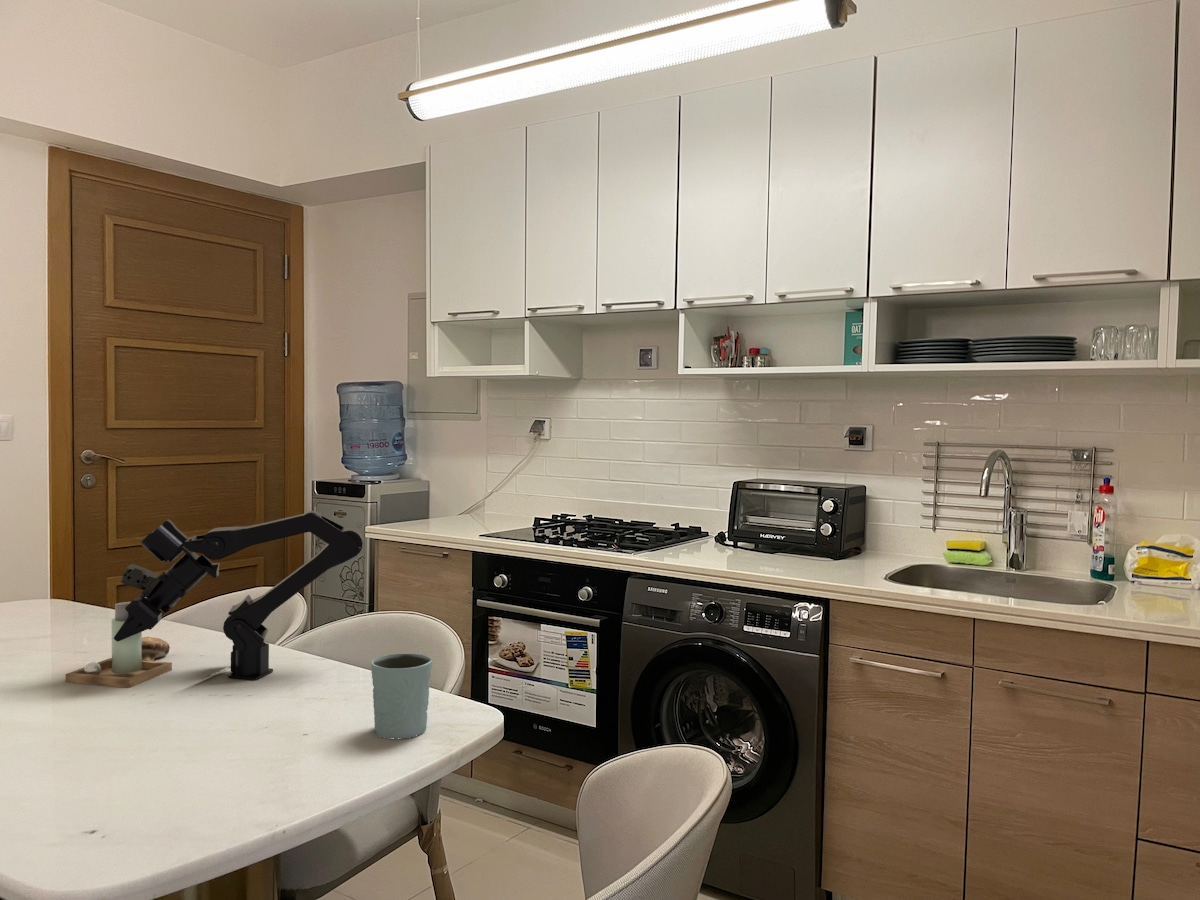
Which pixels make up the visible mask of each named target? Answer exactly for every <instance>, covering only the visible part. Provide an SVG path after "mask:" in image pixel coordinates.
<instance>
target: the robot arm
mask: <svg viewBox="0 0 1200 900" xmlns="http://www.w3.org/2000/svg"><path fill="white" fill-rule="evenodd" d="M304 533H305V534H307V533H311V534H313V535H315V537H317V538H318V539H320V540H322V541H324V543H325V545H324V546H323V547H322V549H320V551H319V552H318V553H316V554H315V555H314V556H312V558H310V559H308V560H307V561H306V562H305V563H304V564H302V565H301V566H299V567H298V568H296V569H295V570H294V571H293V572H291V573H290V574H289V575H288V576H286V577H285V578H284V579H282V580H281V581H279V582H278V583H277V584H275V586H273V587H271V588H270V589H269V590H268V591H266V592H265V593H264V594H261V596H260V595H259V596H258V597H256V598H254V599H253V598H252V597H251V596H250V594H248V595H246V596H245V597H244V599H243V600H242V601H240V602H239V603H237V604H234V605H232V606H231V608H230V610H229V611H228V615H227V617H226V619H225V621H224V622H223V628H222V629H223V634H224V635H225V637H226V638H228V639H229V640H230V641H232V644H233V645H232V651H231V652H230V673H229V674H227V678H230V679H231V678H232V679H244V680H252V681H253V680H258V679H261V678H263V677H265V676H267V675H269V674H271V673H273V672H274V669H273V668H269V667H270V665H269V664H270V663H269V662H270V643H267V642H265V639H266V637H267V634H268V631H269V629H268V628H267V627H266V626H265V625H263V623H264V622H265V621H266V619H267V618H269V616H270V615H271V613H273V612H274V611H275V610H276V609H278V608H279V607H280V606H281V605H283V604H285V603H286V602H287V601H288V600H290V599H291V598H292V597H294V596H296V594H297V593H299V592H301V591H302V590H303V589H304V588H306V587H307V586H309V585H310V584H311V583H313V581H315V580H316V579H318V578H319V577H320V576H321V575H323V574H324V573H326V572H327V571H328V570H330V569H333V568H335V567H337V566H340V565H342V564H344V563H346V562H348V561H349V560H352V559H354V558H356V556H358V555H359V554H360V553H361V551H362V549H363V542H364V541H363V535H362V534H361V532H360V531H359V530H358V529H357V528H355V527H353V526H345V527H344V525H343V526H342V525H341V524H339V523H337V522H336V521H334V520H331V519H330V518H328V517H325V516H324V515H322V514H321V513H320V512H318V511H316V510H309V511H306V512H304V513H301V514H297V515H291V516H287V517H285V518H284V517H283V518H280V519H276V520H270V521H267V522H263V523H262V522H261V523H257V524H254V525H249V526H248V525H247V526H223V527H222V526H221V527H214V528H213V529H210V530H209V531H208V532H207V533H204V534H199V535H193V536H190V537H188V536H187V535H186V534H185V533H184V532H183V531H181V530H180V529H179V527H177V526H176V524H175V523H174V522H173V521H172V520H171V519H166V520H165V521H164V522H163V523H162V524H160V526H158V527H157V528H156V529H154V530H152V531H151V532H150V533H149V534H147V535H146V537H145V538H143V539H142V541H140V545H141V546H142V547H143V548H144V549H146V550H147V551H148V552H149V553H150V554H152V555H153V557H155V558H156V559H157V560H158V561H159V562H160V563H163V562H166V563H167V562H169V563H172V562H173V561H174V560H175V559H176V558H178V557H179V556H180V554H182V553H183V552H184V555H182V556H181V557H180V558H179V559H178V560H177V561H175V563H174V564H173V565H172V566H170V568H169V569H168V570H164V571H163V572H162V573H160V574H159V573H156V572H154V571H152V570H150V569H148V568H145V567H142V566H140V565H138V564H134V563H131V564H129V565H127V568H126V569H125V570H124V572H123V574H122V577H121V579H120V581H119V582H120V583H121V584H123V585H126V586H127V585H128V586H131V587H133V588H136V589H138V590H141V592H140V595H139V596H138V597H137V596H136V597H135V598H134V599H133V600H132V601H130V602H131V603H130V604H129V605H127V606H126V607H125V609H126V611H127V612H128V618H127V619H126V621H125V622H124V624H123V625H122V627H121V628H120V629H119V631H118V632H117V634H116V635H115V636H114V639H115V640H116V641H117V642H118V641H121V640H123V639H125V638H128V637H130V636H132V635H135V634H137V633H140V632H145V631H147V630H152V629H153V628H155V627H156V625H157V624H158V623H160V621H161V620H162V618H163V616H165V614H167V613H168V612H170V610H171V609H173V608H174V606H175V605H176V604H177V603H178V602H179V601H180V600H181V599H182V598H183V597H184V596H185V595H186V594H188V592H189V591H190V590H191V589H192V588H194V587H195V585H197V584H198V583H199V582H200V581H201V580H202V579H203V578H205V576H206V575H207V574H208V575H210V576H211V578H212V579H217V577H218V576H219V575H220V569H219V568H220V564H221V563H220V562H212V561H217V560H218V561H219V560H222V559H223V558H226V557H229V556H231V555H234V554H236V553H238V552H240V551H243V550H244V549H247V548H249V547H251V546H255V545H259V544H263V543H267V542H271V541H276V540H281V539H284V538H289V537H292V536H297V535H302V534H304ZM198 553H199V554H200V555H199V554H198ZM211 560H212V561H211Z"/></svg>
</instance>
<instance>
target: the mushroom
mask: <svg viewBox="0 0 1200 900" xmlns="http://www.w3.org/2000/svg"><path fill="white" fill-rule="evenodd" d="M169 652H170V644H169V643H168V642H167V641H166V640H164V639H161V638H159V637H151V636H144V637H143V636H142V660H145V661H155V659H158V658H163V657H166V656H167V655H168V654H170V653H169Z"/></svg>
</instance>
